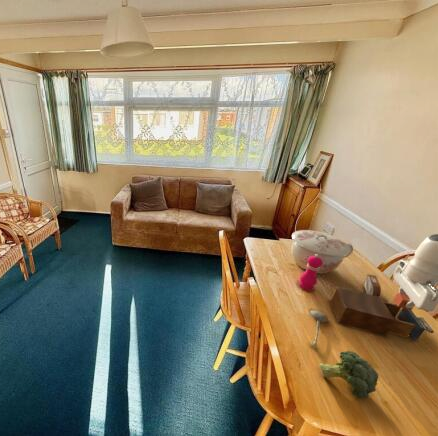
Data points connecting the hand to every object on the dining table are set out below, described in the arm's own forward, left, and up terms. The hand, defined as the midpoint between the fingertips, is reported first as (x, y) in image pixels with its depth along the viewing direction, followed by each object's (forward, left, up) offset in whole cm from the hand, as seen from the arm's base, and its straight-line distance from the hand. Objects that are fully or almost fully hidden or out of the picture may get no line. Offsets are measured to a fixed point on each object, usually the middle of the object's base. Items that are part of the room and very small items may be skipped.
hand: (404, 301), depth 91 cm
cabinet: (+11, 0, -14) cm, 18 cm away
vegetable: (+24, +35, -14) cm, 45 cm away
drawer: (-1, 0, -13) cm, 13 cm away
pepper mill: (+28, -14, -14) cm, 35 cm away
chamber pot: (+22, -36, -14) cm, 45 cm away
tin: (0, -21, -14) cm, 25 cm away
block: (0, 0, -2) cm, 2 cm away
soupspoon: (+28, +14, -14) cm, 35 cm away
